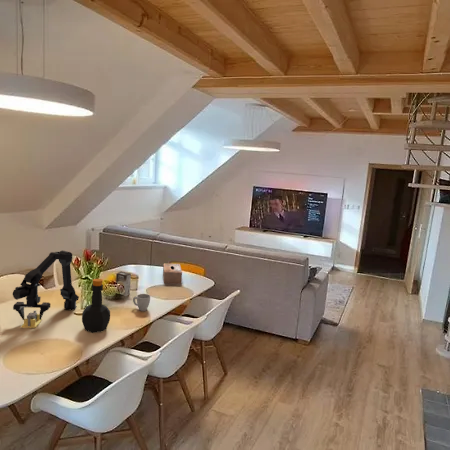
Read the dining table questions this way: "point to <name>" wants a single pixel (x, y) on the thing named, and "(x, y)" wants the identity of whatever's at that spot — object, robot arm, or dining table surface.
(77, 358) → the dining table surface
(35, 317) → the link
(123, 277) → the coffee box
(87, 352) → the dining table surface
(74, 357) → the dining table surface
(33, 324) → the keeper
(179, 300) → the dining table surface
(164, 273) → the tissue box cover
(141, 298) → the mug
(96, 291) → the bottle
